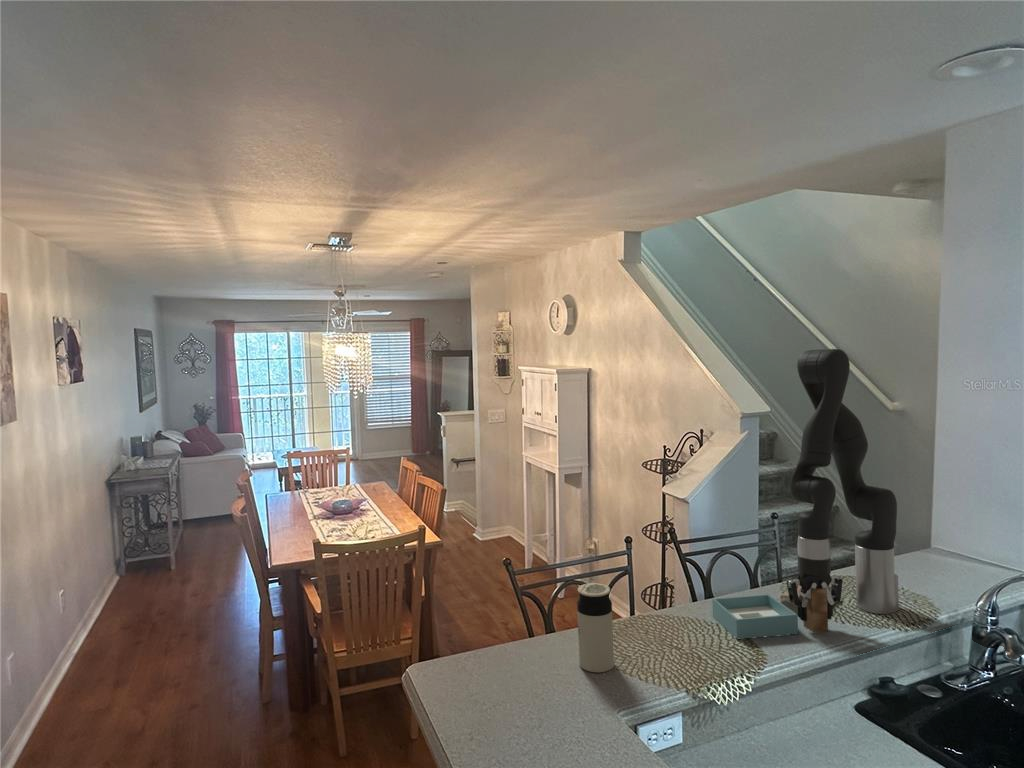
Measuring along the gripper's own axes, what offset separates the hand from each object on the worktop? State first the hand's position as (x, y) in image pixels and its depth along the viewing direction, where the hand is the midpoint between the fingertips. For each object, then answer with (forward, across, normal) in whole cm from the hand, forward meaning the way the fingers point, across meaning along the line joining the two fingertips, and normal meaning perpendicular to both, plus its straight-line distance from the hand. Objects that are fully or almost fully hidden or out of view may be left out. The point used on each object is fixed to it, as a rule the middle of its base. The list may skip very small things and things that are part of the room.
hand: (815, 618), depth 156 cm
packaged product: (+3, -7, -15) cm, 17 cm away
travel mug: (+3, +59, +8) cm, 60 cm away
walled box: (+3, +14, -5) cm, 15 cm away
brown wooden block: (+3, 0, 0) cm, 3 cm away
